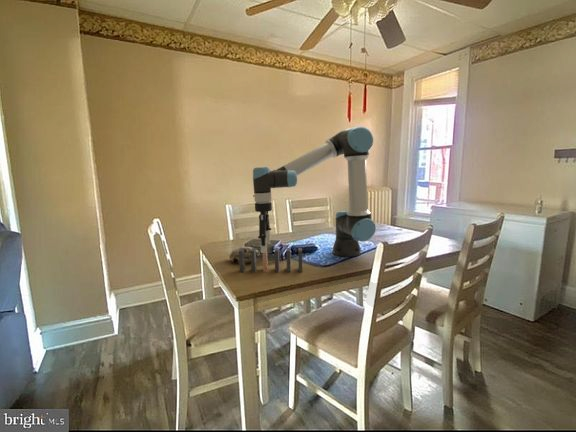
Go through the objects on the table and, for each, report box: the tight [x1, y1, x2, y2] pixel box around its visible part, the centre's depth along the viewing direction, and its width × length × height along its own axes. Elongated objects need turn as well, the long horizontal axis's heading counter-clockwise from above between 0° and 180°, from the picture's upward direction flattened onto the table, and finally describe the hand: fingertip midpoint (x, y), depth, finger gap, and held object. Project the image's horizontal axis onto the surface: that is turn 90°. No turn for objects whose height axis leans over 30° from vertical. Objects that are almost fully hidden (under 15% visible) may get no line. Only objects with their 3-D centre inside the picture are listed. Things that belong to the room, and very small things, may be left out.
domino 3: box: [261, 252, 269, 273], centre depth 141 cm, size 2×5×10 cm, turn 178°
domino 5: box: [286, 247, 292, 273], centre depth 141 cm, size 2×5×10 cm, turn 178°
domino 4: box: [274, 247, 280, 273], centre depth 141 cm, size 2×5×10 cm, turn 178°
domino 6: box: [297, 247, 303, 273], centre depth 141 cm, size 2×5×10 cm, turn 178°
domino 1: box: [238, 248, 246, 273], centre depth 142 cm, size 2×5×10 cm, turn 177°
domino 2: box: [250, 247, 257, 273], centre depth 142 cm, size 2×5×10 cm, turn 177°
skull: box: [228, 246, 261, 264], centre depth 155 cm, size 10×16×10 cm
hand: (265, 248), depth 140 cm, fingers open, 13 cm apart
